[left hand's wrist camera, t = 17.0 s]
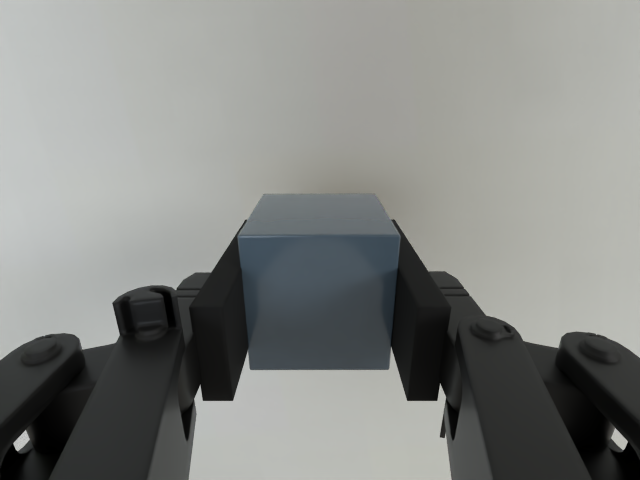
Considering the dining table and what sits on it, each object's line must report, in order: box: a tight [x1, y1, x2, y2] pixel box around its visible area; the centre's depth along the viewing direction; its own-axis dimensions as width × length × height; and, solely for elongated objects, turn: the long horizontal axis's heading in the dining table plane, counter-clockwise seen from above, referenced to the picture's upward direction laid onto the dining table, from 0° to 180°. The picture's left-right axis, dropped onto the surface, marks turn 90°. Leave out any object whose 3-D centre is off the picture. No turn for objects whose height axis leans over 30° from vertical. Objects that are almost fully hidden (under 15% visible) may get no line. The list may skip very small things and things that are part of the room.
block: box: [238, 194, 401, 370], centre depth 12 cm, size 4×4×5 cm
